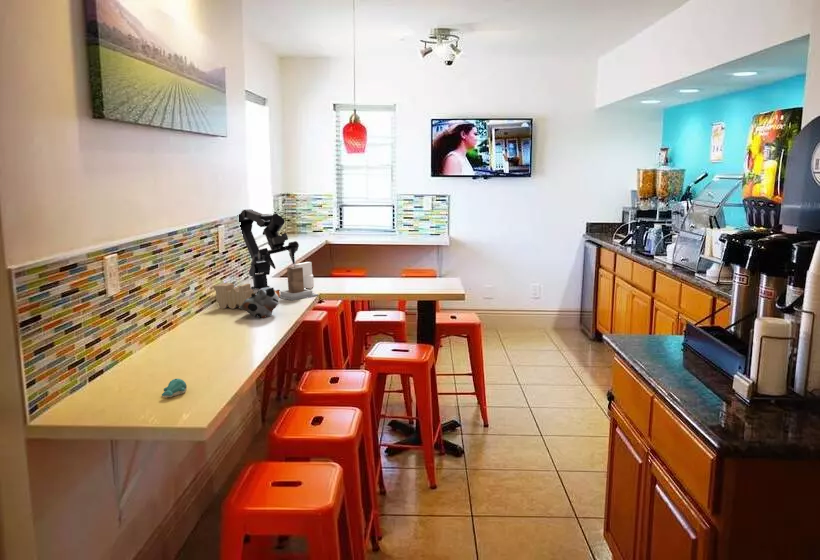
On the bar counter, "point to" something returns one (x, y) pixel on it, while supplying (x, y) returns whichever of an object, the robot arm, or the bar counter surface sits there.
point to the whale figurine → (175, 388)
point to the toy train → (232, 294)
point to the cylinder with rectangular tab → (307, 274)
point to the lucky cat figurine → (261, 302)
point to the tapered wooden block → (295, 279)
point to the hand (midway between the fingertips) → (284, 266)
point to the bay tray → (296, 294)
